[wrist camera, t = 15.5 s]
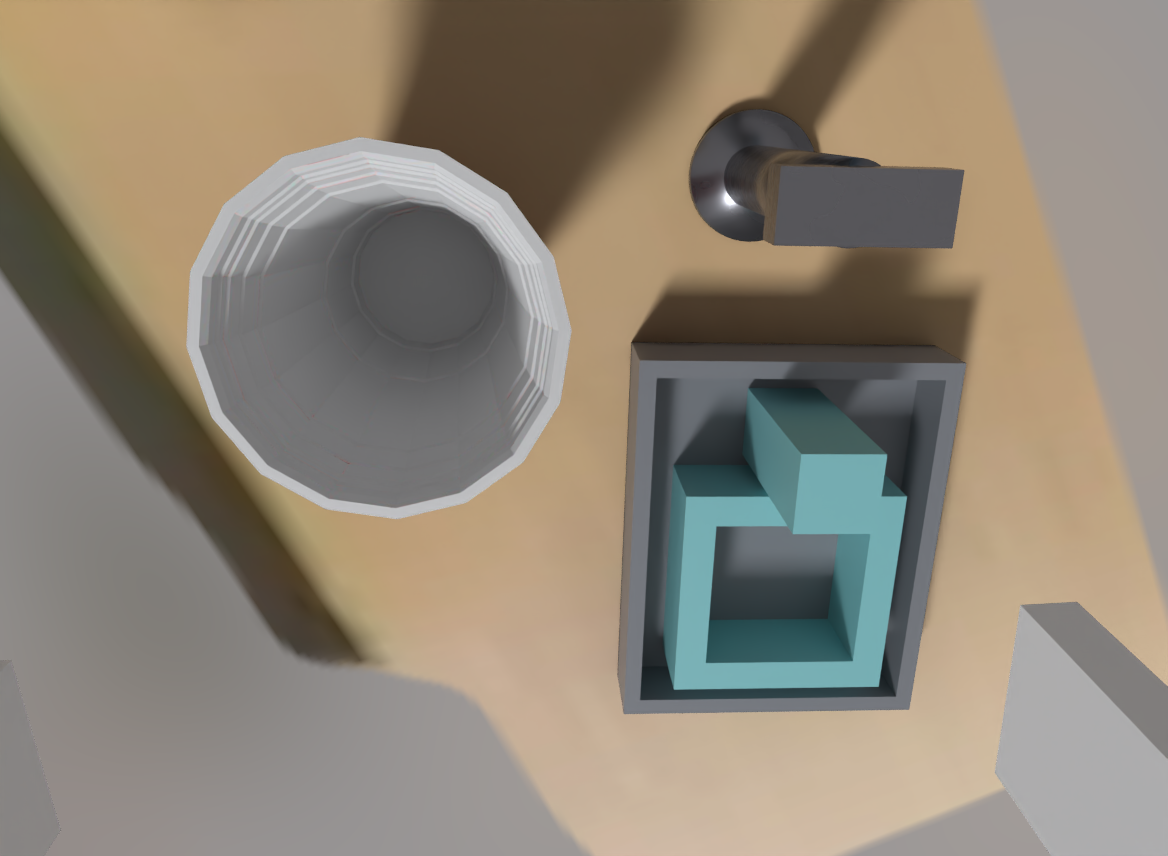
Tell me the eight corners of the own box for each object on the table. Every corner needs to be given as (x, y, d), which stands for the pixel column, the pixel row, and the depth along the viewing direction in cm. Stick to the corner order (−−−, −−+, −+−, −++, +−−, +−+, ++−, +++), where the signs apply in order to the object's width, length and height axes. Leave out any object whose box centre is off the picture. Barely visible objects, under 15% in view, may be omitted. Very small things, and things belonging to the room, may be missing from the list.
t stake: (692, 107, 35) (782, 103, 23) (819, 111, 35) (977, 108, 23) (685, 239, 37) (765, 302, 24) (806, 241, 37) (947, 304, 25)
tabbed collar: (677, 387, 38) (714, 453, 31) (886, 388, 39) (972, 454, 31) (662, 644, 42) (691, 759, 35) (851, 642, 43) (920, 755, 35)
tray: (631, 342, 38) (639, 360, 35) (934, 345, 39) (966, 363, 36) (617, 674, 43) (623, 713, 40) (884, 671, 44) (908, 709, 41)
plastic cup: (484, 81, 34) (463, 64, 23) (601, 334, 38) (632, 428, 27) (234, 205, 35) (94, 247, 24) (370, 441, 39) (304, 575, 27)
